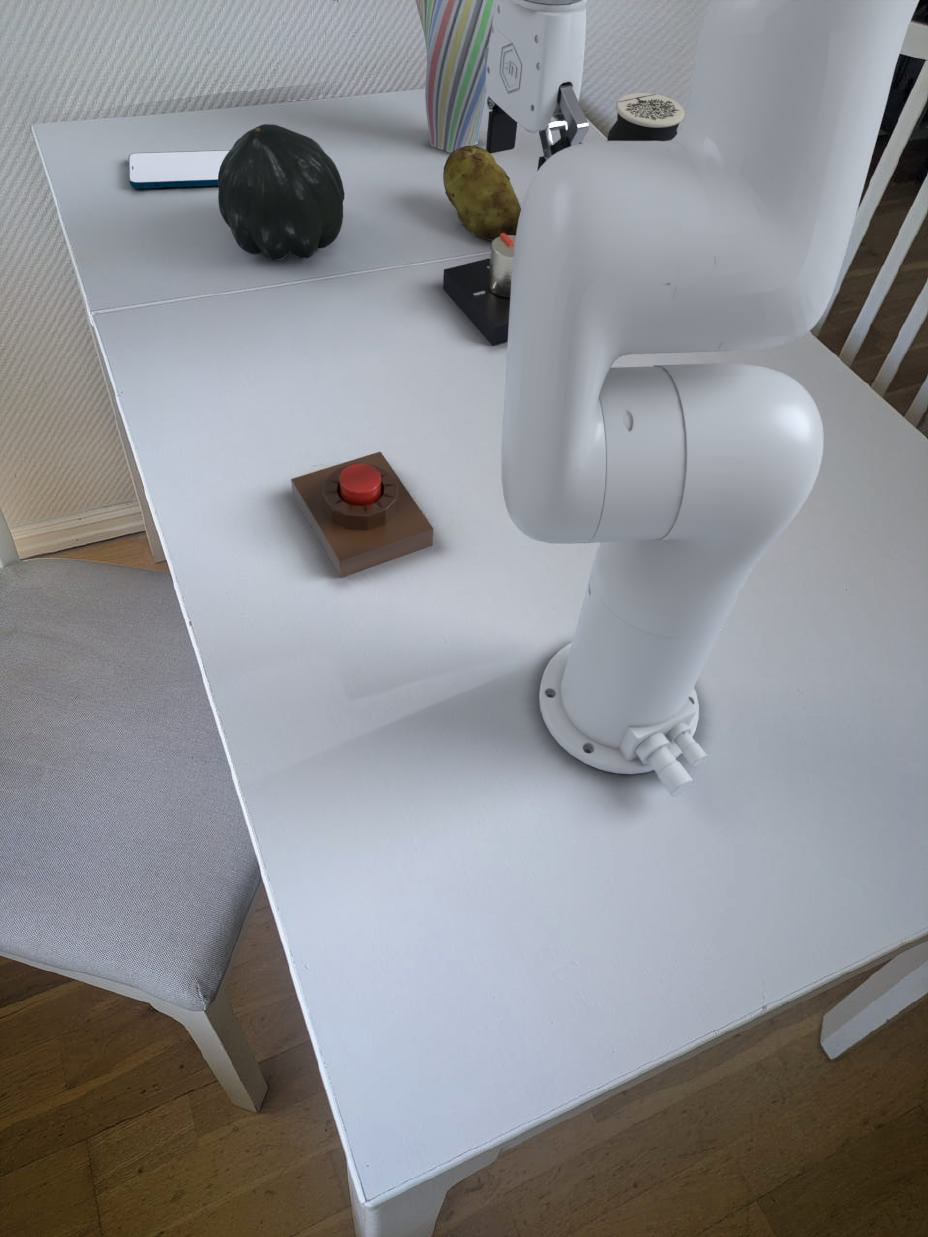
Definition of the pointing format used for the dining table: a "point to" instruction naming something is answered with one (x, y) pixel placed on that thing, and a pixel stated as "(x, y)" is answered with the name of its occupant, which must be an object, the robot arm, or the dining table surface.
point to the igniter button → (360, 485)
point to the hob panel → (478, 299)
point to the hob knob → (501, 265)
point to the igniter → (362, 518)
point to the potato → (481, 193)
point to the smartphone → (175, 168)
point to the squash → (280, 193)
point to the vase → (455, 68)
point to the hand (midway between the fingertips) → (523, 172)
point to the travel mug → (646, 118)
